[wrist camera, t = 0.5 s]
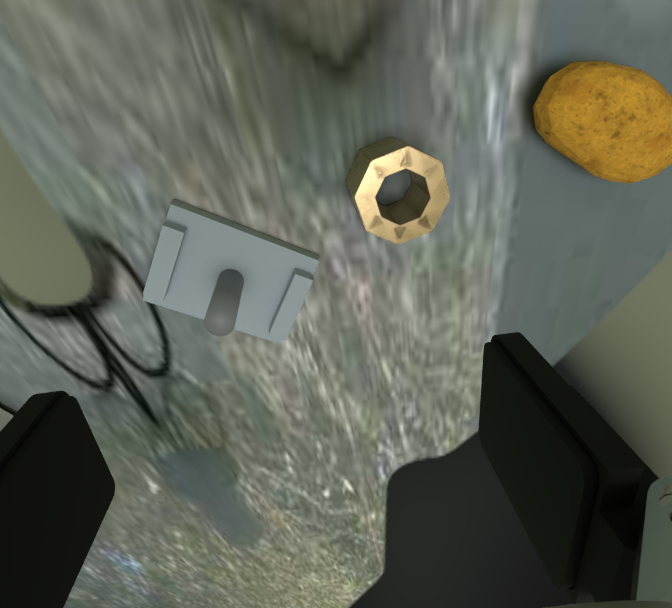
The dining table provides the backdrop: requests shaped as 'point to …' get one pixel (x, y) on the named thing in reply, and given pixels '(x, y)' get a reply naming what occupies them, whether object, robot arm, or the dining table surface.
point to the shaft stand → (228, 274)
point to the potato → (607, 120)
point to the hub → (419, 201)
